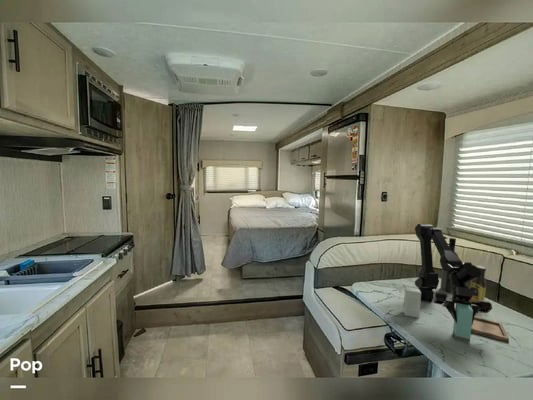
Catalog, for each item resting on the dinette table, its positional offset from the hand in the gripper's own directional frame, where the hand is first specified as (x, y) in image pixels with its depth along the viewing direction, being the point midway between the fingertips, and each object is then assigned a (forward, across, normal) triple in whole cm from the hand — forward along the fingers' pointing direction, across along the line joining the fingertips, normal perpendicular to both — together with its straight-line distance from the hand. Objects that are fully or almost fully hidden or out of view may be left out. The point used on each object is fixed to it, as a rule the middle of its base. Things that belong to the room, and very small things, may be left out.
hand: (463, 323), depth 101 cm
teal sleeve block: (+4, 0, +6) cm, 7 cm away
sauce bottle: (-22, +14, +32) cm, 41 cm away
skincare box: (-4, -17, +14) cm, 22 cm away
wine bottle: (-32, +5, +41) cm, 52 cm away
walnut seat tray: (-5, +11, +14) cm, 19 cm away
